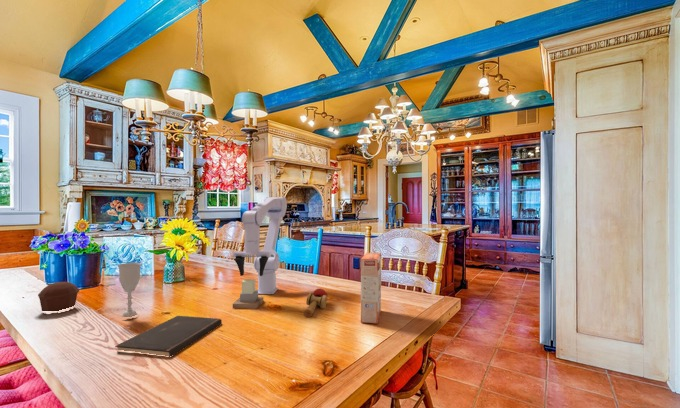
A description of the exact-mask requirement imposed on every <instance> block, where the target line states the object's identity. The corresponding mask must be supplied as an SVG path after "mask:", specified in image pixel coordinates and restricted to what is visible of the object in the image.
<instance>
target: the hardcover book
mask: <svg viewBox="0 0 680 408" xmlns="http://www.w3.org/2000/svg"><path fill="white" fill-rule="evenodd" d="M222 321H223V320H222V319H221V318H215V317H214V318H213V317H202V316H201V317H200V316H187V315H176V316H174V317H172V318H169V319H168V320H166V321H164V322H162V323H159V324H157V325H155V326H152V327H151V328H149V329H147V330H145V331H144V332H141V333H139V334H136V335H135V336H133V337H130V338H129V339H127V340H124V341H122V342H121V343H120V342H119V343H118V344H117V345H115V346H114V347H115V348H117V349H118V350H124V351H135V352H141V353H149V354H156V355H165V356H169V357H170V356H172V355H174V354H175V355H177V354H178V353H180V352H181V351H183V350H184V349H183V348H185V347H186V346H188V345H189V346H191V345H192V344H193V342H194V341H195V342H197V341H198V340H200V339H202V336H203V337H204V336H206V335H207V334H209V333H211V332H212V331H214V330H215V329H216V327H217V326H218V327H220V326H221V325H222ZM220 324H221V325H220ZM219 325H220V326H219ZM218 327H217V328H218ZM214 328H215V329H214ZM213 329H214V330H213ZM211 330H212V331H211ZM210 331H211V332H210ZM208 332H209V333H208ZM205 334H206V335H205ZM199 338H200V339H199ZM196 340H197V341H196ZM195 342H194V343H195ZM191 343H192V344H191ZM190 344H191V345H190ZM189 346H188V347H189ZM186 348H187V347H186ZM186 348H185V349H186ZM182 349H183V350H182ZM180 350H181V351H180ZM179 351H180V352H179ZM177 352H178V353H177ZM176 353H177V354H176ZM175 355H174V356H175ZM172 357H173V356H172Z"/></svg>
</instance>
